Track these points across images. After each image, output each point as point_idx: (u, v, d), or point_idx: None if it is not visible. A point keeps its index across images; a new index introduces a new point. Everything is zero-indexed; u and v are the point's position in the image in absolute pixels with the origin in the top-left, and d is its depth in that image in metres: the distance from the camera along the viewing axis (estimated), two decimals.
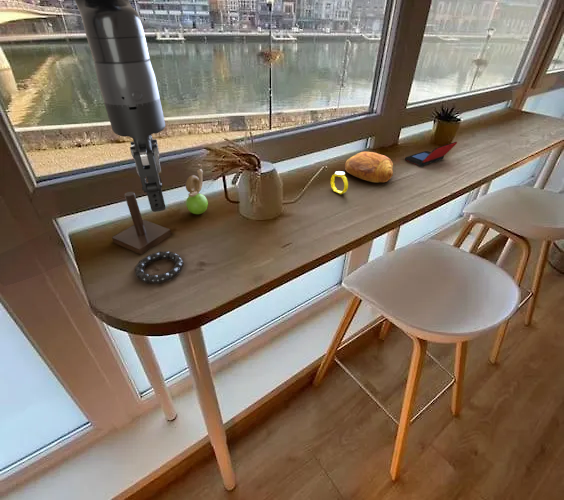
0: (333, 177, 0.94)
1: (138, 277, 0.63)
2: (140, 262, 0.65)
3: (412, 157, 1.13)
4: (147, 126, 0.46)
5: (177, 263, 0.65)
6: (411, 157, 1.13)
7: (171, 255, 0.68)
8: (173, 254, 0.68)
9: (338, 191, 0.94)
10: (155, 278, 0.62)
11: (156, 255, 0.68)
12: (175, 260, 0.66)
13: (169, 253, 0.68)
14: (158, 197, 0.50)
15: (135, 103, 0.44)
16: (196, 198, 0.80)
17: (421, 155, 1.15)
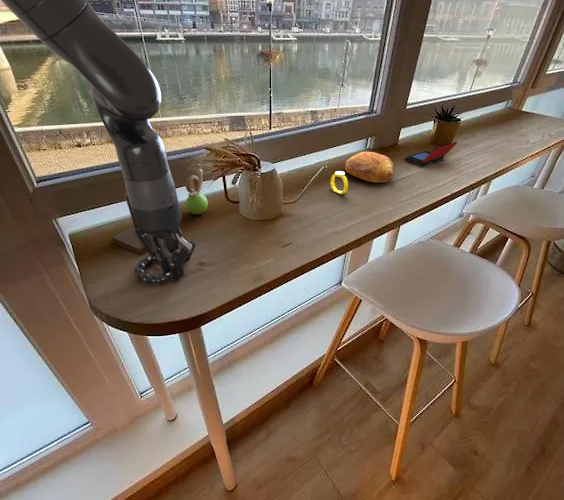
0: (333, 177, 0.94)
1: (138, 277, 0.63)
2: (140, 262, 0.65)
3: (412, 157, 1.13)
4: (178, 217, 0.56)
5: None
6: (411, 157, 1.13)
7: None
8: None
9: (338, 191, 0.94)
10: (156, 278, 0.62)
11: None
12: None
13: None
14: (181, 267, 0.62)
15: (172, 203, 0.53)
16: (196, 198, 0.80)
17: (421, 155, 1.15)
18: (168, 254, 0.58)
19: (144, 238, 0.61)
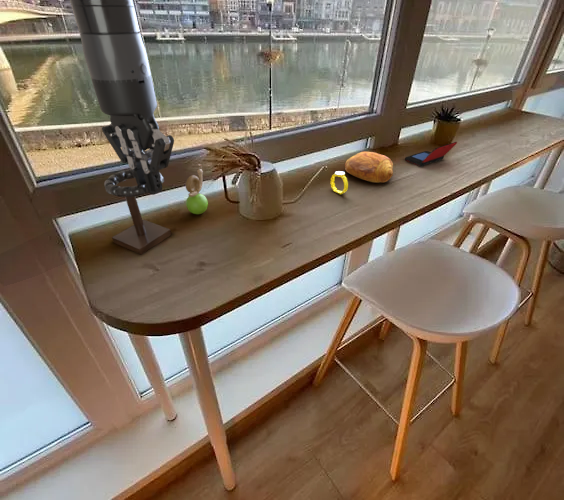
0: (333, 177, 0.94)
1: (107, 189, 0.52)
2: (111, 176, 0.55)
3: (412, 157, 1.13)
4: (152, 101, 0.45)
5: None
6: (411, 157, 1.13)
7: None
8: None
9: (338, 191, 0.94)
10: (128, 188, 0.51)
11: (131, 171, 0.57)
12: None
13: None
14: (159, 177, 0.52)
15: (143, 76, 0.42)
16: (196, 198, 0.80)
17: (421, 155, 1.15)
18: (141, 153, 0.48)
19: (113, 138, 0.50)
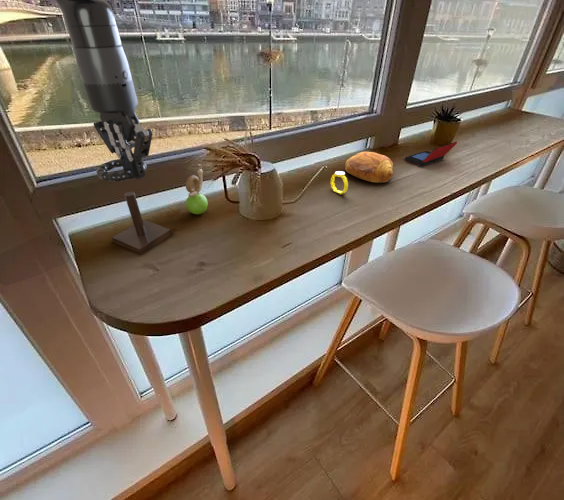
0: (333, 177, 0.94)
1: (99, 175, 0.62)
2: (102, 164, 0.65)
3: (412, 157, 1.13)
4: (133, 100, 0.55)
5: None
6: (411, 157, 1.13)
7: None
8: None
9: (338, 191, 0.94)
10: (115, 174, 0.61)
11: (120, 160, 0.67)
12: None
13: None
14: (141, 164, 0.62)
15: (125, 81, 0.52)
16: (196, 198, 0.80)
17: (421, 155, 1.15)
18: (125, 144, 0.58)
19: (103, 132, 0.60)
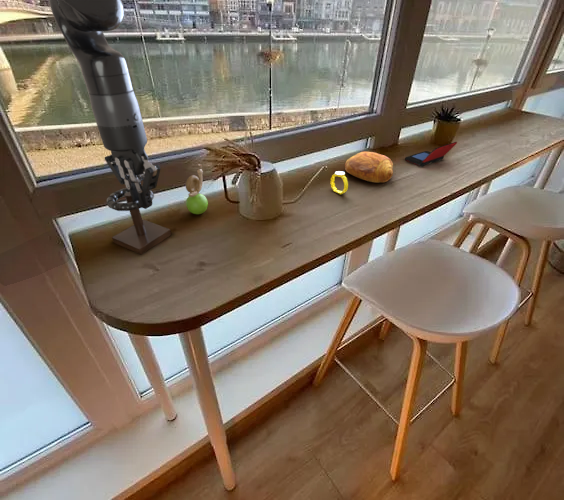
0: (333, 177, 0.94)
1: (109, 205, 0.66)
2: (112, 194, 0.69)
3: (412, 157, 1.13)
4: (143, 139, 0.59)
5: None
6: (411, 157, 1.13)
7: None
8: None
9: (338, 191, 0.94)
10: (125, 204, 0.65)
11: (128, 189, 0.71)
12: None
13: None
14: (149, 195, 0.66)
15: (135, 122, 0.56)
16: (196, 198, 0.80)
17: (421, 155, 1.15)
18: (135, 178, 0.62)
19: (113, 165, 0.64)
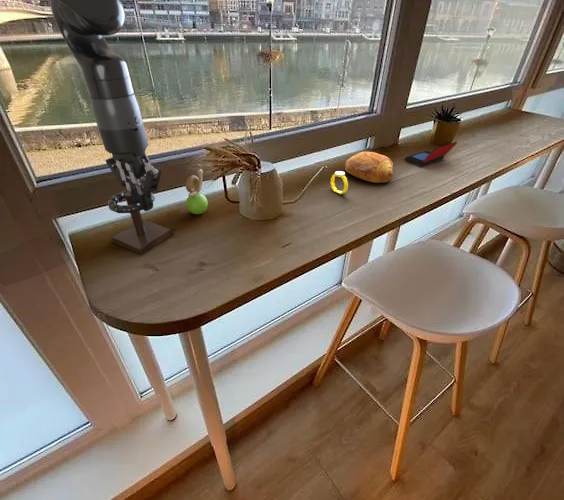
0: (333, 177, 0.94)
1: (110, 207, 0.66)
2: (113, 196, 0.69)
3: (412, 157, 1.13)
4: (144, 142, 0.59)
5: None
6: (411, 157, 1.13)
7: None
8: None
9: (338, 191, 0.94)
10: (126, 207, 0.65)
11: None
12: None
13: None
14: (150, 197, 0.66)
15: (136, 125, 0.57)
16: (196, 198, 0.80)
17: (421, 155, 1.15)
18: (136, 180, 0.62)
19: (114, 168, 0.64)
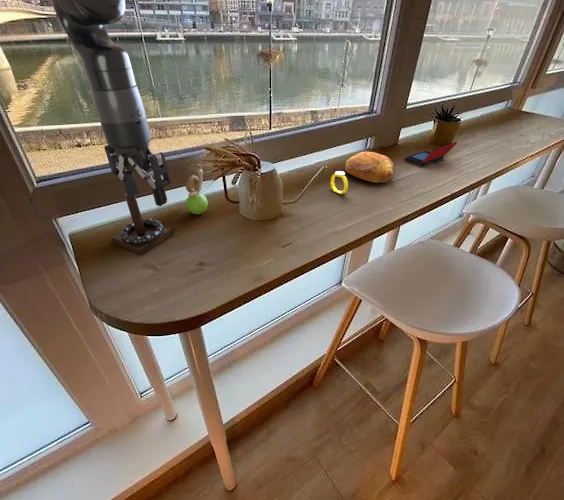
0: (333, 177, 0.94)
1: (122, 239, 0.70)
2: (125, 227, 0.73)
3: (412, 157, 1.13)
4: (147, 135, 0.58)
5: (158, 228, 0.73)
6: (411, 157, 1.13)
7: (153, 221, 0.75)
8: (155, 221, 0.75)
9: (338, 191, 0.94)
10: (137, 239, 0.70)
11: None
12: (156, 225, 0.74)
13: (151, 220, 0.76)
14: (164, 192, 0.62)
15: (139, 118, 0.55)
16: (196, 198, 0.80)
17: (421, 155, 1.15)
18: (143, 172, 0.59)
19: (112, 157, 0.63)
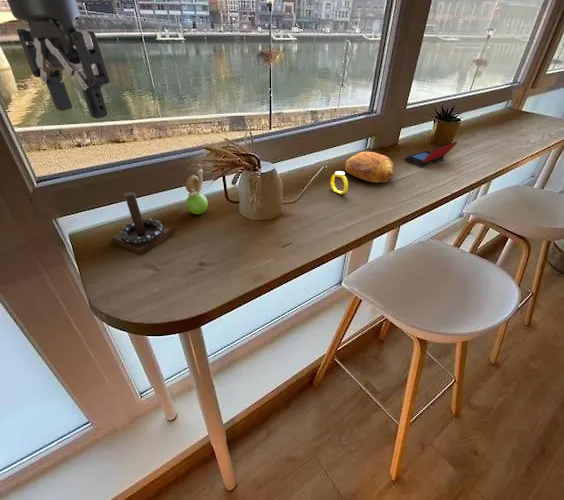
0: (333, 177, 0.94)
1: (122, 239, 0.70)
2: (125, 227, 0.73)
3: (412, 157, 1.13)
4: (71, 6, 0.41)
5: (158, 228, 0.73)
6: (411, 157, 1.13)
7: (153, 221, 0.75)
8: (155, 221, 0.75)
9: (338, 191, 0.94)
10: (137, 239, 0.70)
11: None
12: (156, 225, 0.74)
13: (151, 220, 0.76)
14: (101, 97, 0.45)
15: None
16: (196, 198, 0.80)
17: (421, 155, 1.15)
18: (68, 62, 0.42)
19: (29, 47, 0.46)
